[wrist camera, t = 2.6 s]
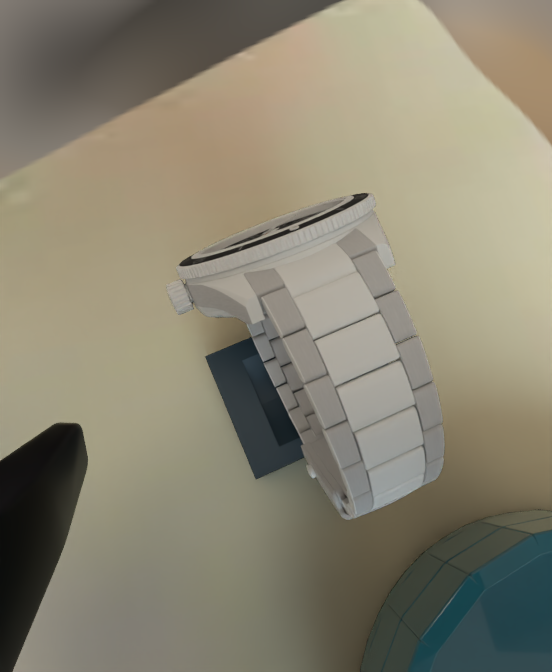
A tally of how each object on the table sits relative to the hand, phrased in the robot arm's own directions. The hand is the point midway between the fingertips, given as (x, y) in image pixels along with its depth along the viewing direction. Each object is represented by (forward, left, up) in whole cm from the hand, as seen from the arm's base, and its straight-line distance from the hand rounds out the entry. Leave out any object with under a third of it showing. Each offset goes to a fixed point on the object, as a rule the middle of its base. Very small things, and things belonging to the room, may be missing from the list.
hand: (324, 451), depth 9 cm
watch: (+3, 0, -10) cm, 11 cm away
